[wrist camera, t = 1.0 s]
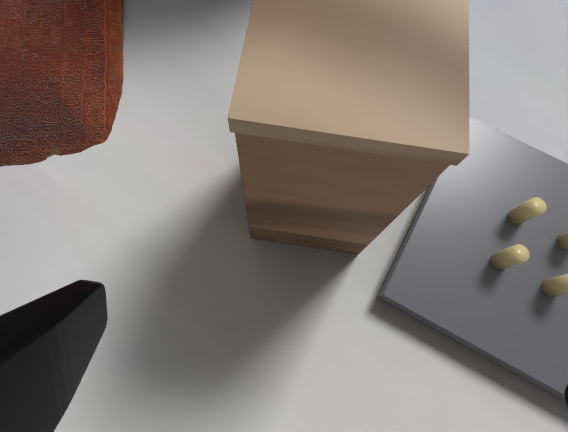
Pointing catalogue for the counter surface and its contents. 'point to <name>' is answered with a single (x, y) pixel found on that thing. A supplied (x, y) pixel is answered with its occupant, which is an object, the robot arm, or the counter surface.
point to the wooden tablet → (58, 76)
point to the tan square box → (347, 114)
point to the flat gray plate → (493, 258)
